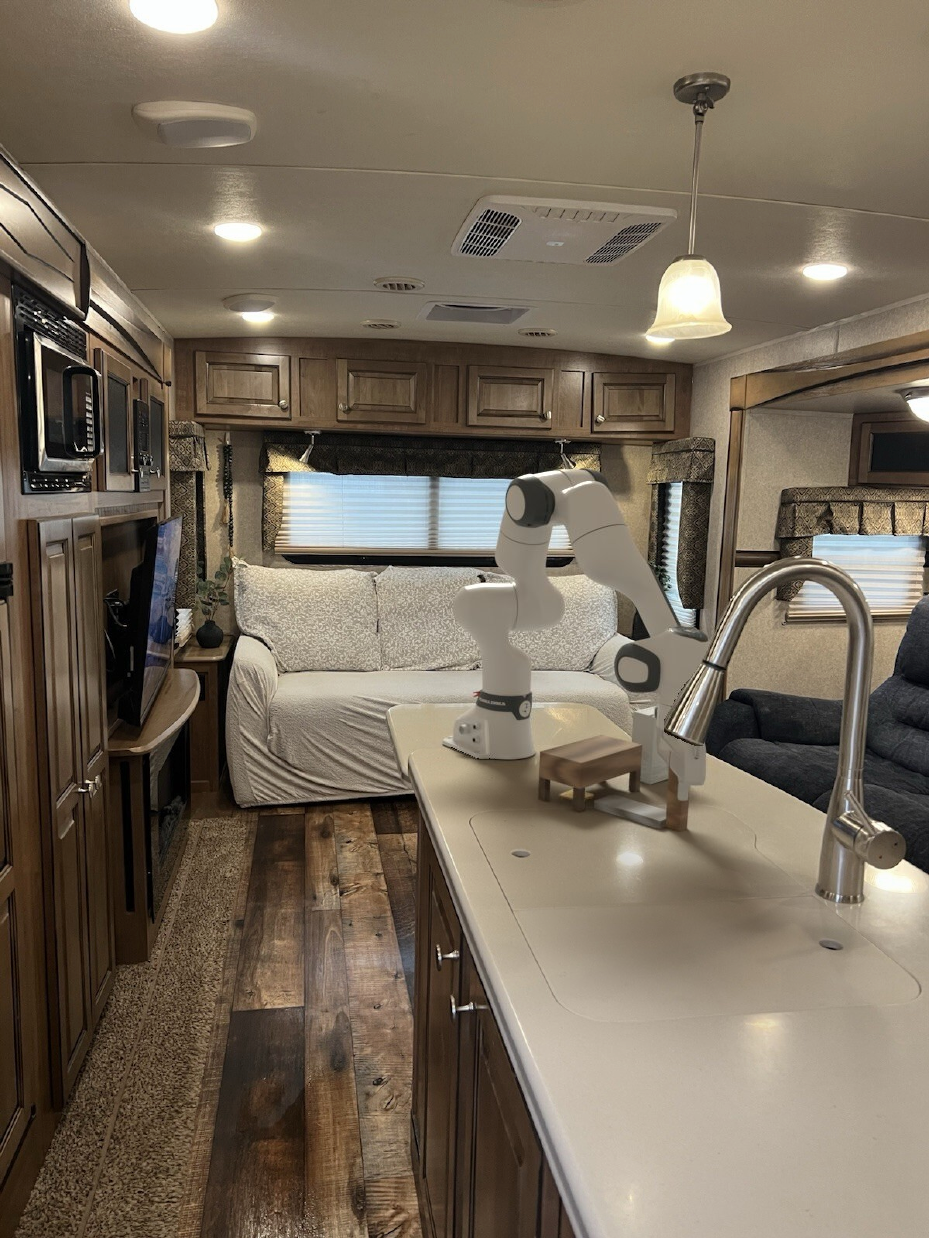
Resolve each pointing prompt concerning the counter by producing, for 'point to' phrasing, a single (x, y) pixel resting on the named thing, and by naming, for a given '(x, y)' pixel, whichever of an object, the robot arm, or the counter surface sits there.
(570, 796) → the tan square tile
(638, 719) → the skincare box
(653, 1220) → the counter surface
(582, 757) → the small wooden table
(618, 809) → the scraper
